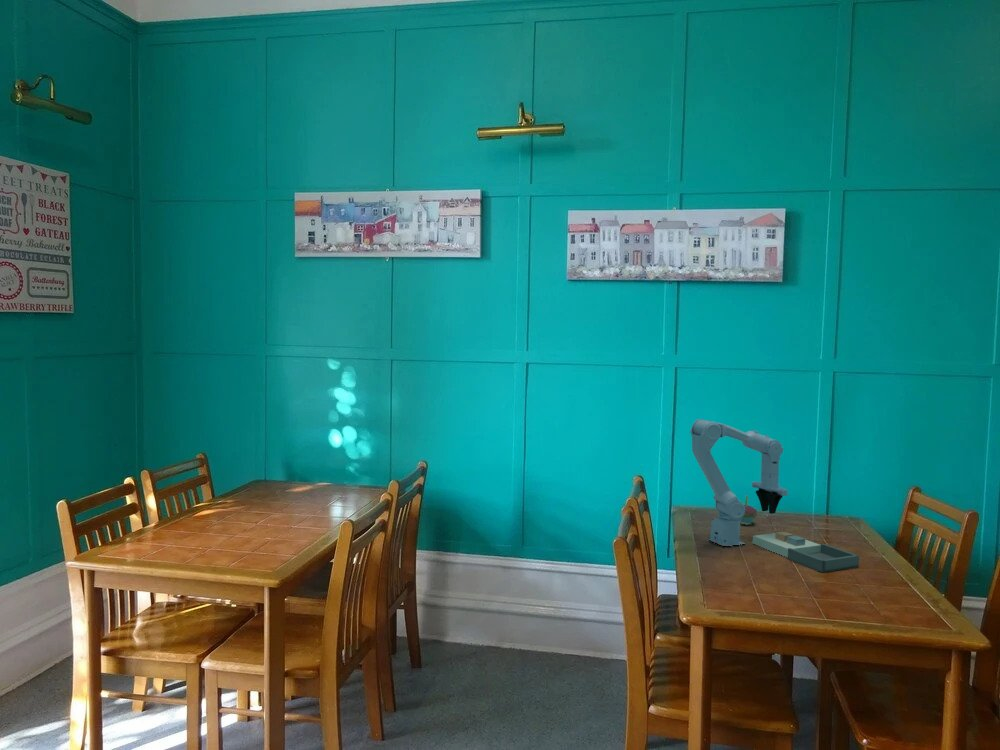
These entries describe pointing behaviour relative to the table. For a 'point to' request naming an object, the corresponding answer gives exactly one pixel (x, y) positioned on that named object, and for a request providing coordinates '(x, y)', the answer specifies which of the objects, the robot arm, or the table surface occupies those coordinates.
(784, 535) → the tile
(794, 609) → the table surface
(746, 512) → the cupcake
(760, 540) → the large sage green panel
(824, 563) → the bin
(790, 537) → the tile
